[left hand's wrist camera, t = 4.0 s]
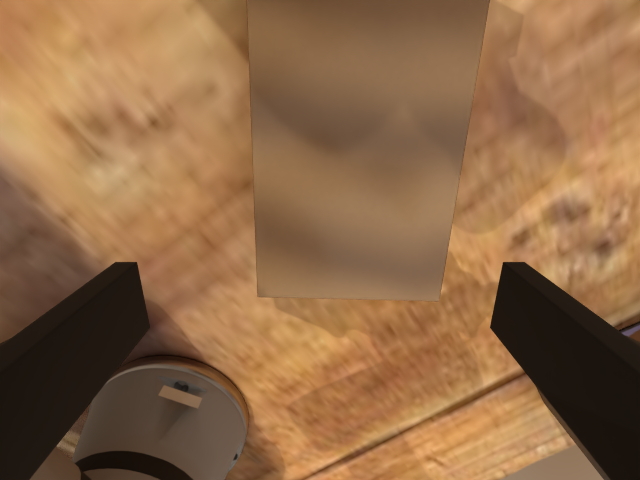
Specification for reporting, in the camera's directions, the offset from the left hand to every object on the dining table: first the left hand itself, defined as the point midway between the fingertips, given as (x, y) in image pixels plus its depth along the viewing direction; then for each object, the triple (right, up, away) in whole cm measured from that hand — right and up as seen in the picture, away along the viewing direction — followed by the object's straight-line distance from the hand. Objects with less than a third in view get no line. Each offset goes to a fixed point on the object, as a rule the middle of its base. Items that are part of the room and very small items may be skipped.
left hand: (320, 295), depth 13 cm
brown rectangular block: (+2, +11, +13) cm, 17 cm away
